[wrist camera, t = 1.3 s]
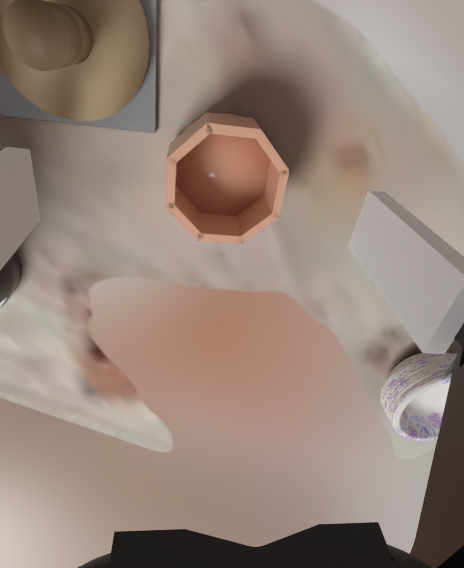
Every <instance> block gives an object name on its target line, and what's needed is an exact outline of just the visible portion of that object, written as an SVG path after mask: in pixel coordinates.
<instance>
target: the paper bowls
mask: <svg viewBox="0 0 464 568" xmlns="http://www.w3.org/2000/svg"><path fill="white" fill-rule="evenodd" d="M457 355H458V354H454V353H445V354H434V353H419V354H415V355H413V356H410V357H408V358H406V359H405V360H403V361H402V362H400V363H399V364H398V365H397V366H396V367H395V368H394V369H393V370H392V372H391V373H390V375H389V378H388V380H387V381H386V383H385V384H384V386H383V388H382V391H381V397H380V399H381V404H382V406H383V409H384V411H385V413H386V415H387V417H388V418H389V420H390V422H391V424H392V426H393V428H394V429H395V431H396V432H397V433H398V434H399V435H401V436H403V437H405V438H407V439H411V440H418V441H428V440H436V439H438V435H439V430H440V426H441V421H442V417H443V412H444V408H445V403H446V399H447V394H448V390H449V385H450V381H451V376H452V373H450V374H449V375H448V376H446V375H444V374H445V372H446V371H447V369H448V368H449V366H450V365H451V364H452V362H453V361H454V359H455V358H456V356H457Z"/></svg>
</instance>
